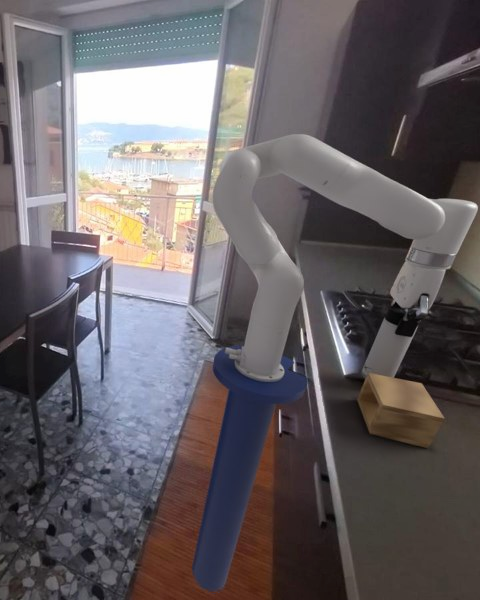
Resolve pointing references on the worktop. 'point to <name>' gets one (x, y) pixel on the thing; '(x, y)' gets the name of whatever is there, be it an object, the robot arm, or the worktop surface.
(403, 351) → the travel mug
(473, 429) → the worktop surface
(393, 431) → the shelf
